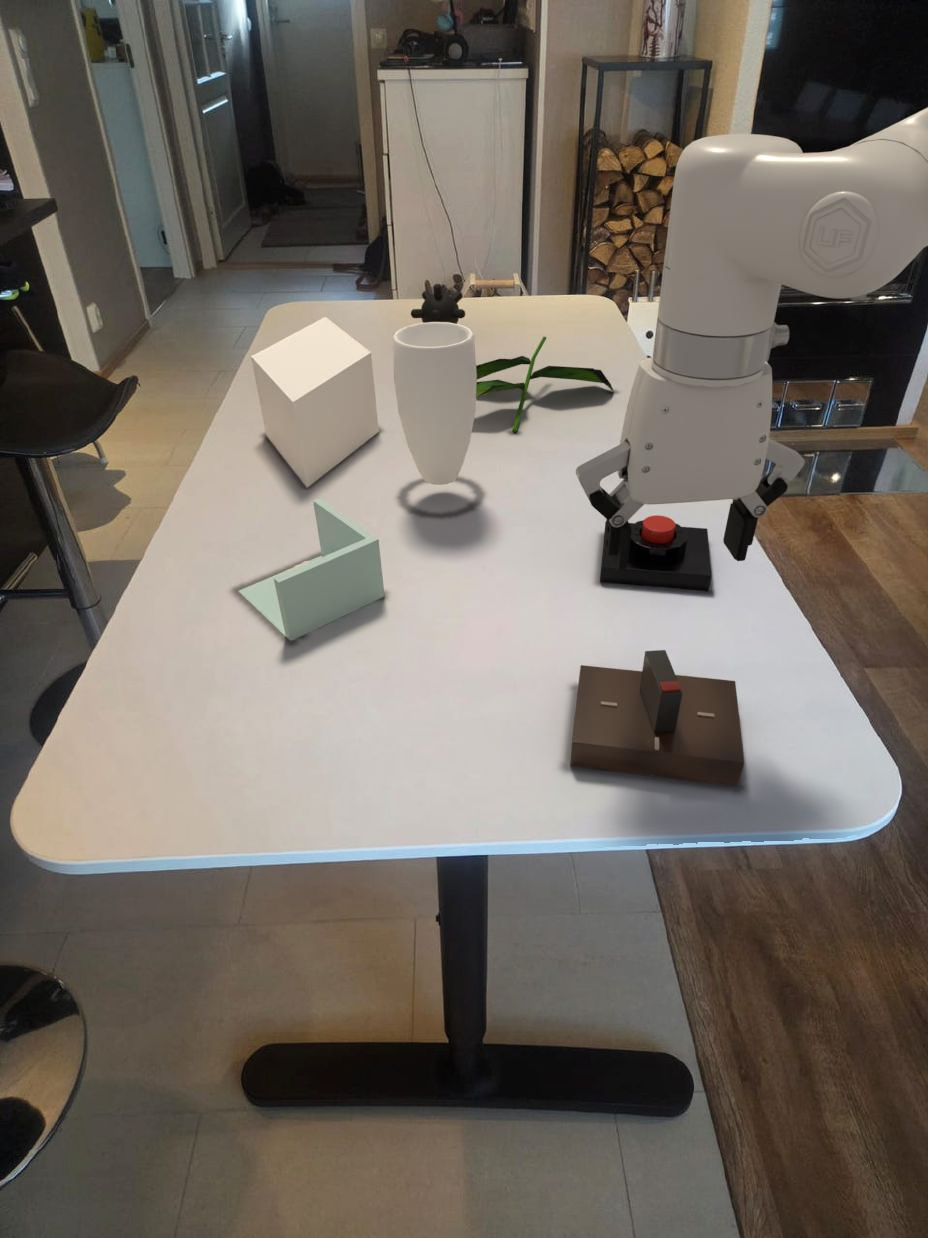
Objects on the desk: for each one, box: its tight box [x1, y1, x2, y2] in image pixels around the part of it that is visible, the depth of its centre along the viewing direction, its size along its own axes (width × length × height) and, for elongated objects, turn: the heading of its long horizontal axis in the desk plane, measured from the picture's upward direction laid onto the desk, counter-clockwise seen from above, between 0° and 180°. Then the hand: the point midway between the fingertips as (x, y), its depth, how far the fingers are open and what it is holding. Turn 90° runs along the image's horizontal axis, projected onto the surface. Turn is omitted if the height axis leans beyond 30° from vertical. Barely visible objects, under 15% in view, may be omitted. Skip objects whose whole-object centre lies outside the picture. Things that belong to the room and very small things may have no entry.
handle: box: [640, 649, 682, 733], centre depth 69 cm, size 6×2×5 cm, turn 3°
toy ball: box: [410, 283, 466, 324], centre depth 156 cm, size 11×11×12 cm
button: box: [641, 514, 676, 544], centre depth 91 cm, size 4×4×2 cm
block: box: [250, 316, 380, 489], centre depth 120 cm, size 18×35×12 cm, turn 1°
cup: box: [391, 322, 478, 486], centre depth 101 cm, size 10×10×22 cm
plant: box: [476, 336, 615, 433], centre depth 130 cm, size 19×27×8 cm
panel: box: [569, 664, 745, 787], centre depth 71 cm, size 14×10×3 cm
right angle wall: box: [238, 497, 386, 642], centre depth 88 cm, size 12×12×8 cm
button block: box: [599, 519, 713, 593], centre depth 92 cm, size 12×10×4 cm
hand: (675, 556), depth 65 cm, fingers open, 9 cm apart
